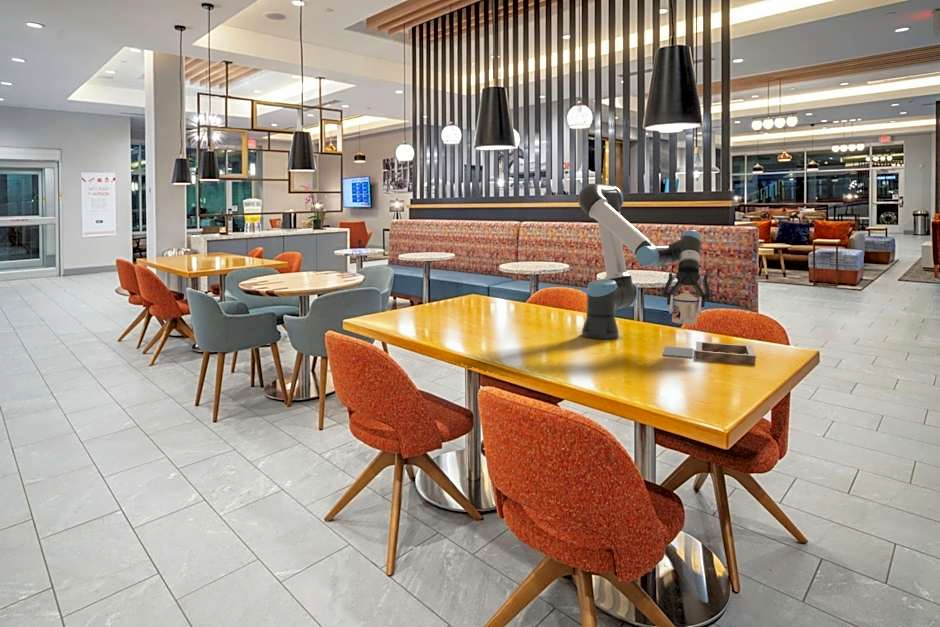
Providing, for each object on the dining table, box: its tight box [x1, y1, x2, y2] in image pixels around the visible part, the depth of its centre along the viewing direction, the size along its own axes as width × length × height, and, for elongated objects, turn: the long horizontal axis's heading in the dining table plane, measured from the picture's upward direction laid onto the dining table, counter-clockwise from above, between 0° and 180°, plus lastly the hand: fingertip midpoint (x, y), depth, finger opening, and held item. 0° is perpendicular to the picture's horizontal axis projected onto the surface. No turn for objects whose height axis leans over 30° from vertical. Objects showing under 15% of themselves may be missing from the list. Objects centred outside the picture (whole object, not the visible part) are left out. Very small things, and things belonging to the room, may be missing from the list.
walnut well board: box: [694, 341, 757, 366], centre depth 210 cm, size 19×18×3 cm
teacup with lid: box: [671, 290, 699, 325], centre depth 213 cm, size 12×9×12 cm
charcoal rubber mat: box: [662, 346, 694, 359], centre depth 216 cm, size 10×15×1 cm, turn 159°
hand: (684, 312), depth 210 cm, fingers closed on teacup with lid, 9 cm apart
